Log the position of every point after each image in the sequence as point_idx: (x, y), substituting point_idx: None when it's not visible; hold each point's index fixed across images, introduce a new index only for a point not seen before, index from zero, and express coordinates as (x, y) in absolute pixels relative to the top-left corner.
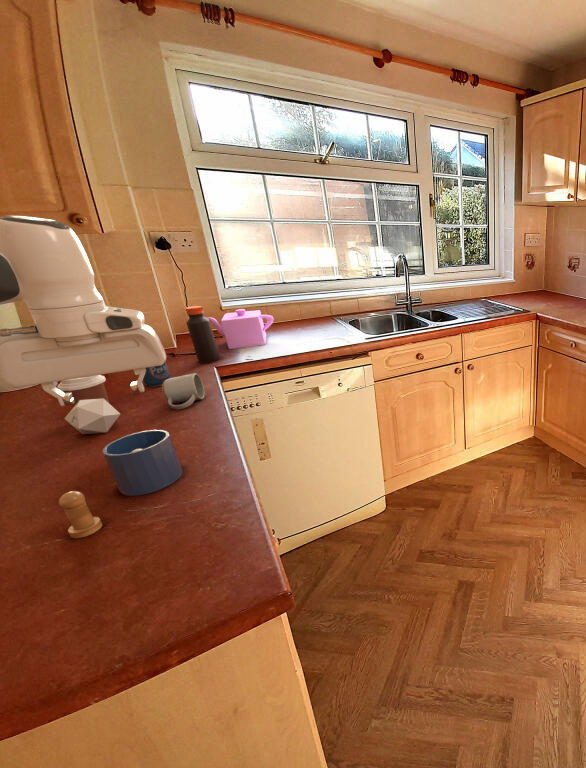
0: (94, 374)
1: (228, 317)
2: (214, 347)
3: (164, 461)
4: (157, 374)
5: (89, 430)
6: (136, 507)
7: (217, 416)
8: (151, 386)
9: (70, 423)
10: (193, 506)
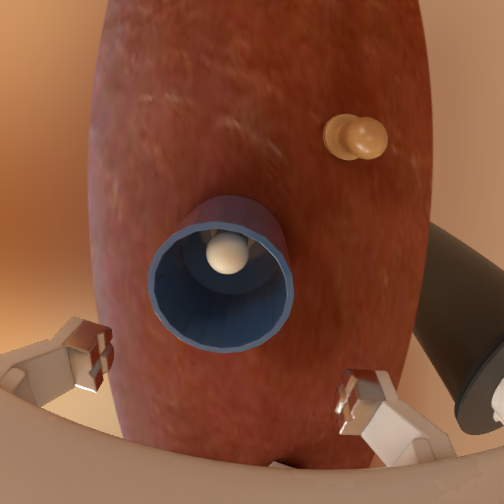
0: (197, 462)
1: None
2: None
3: (186, 218)
4: None
5: (291, 468)
6: (267, 154)
7: (123, 412)
8: None
9: None
10: (180, 75)
